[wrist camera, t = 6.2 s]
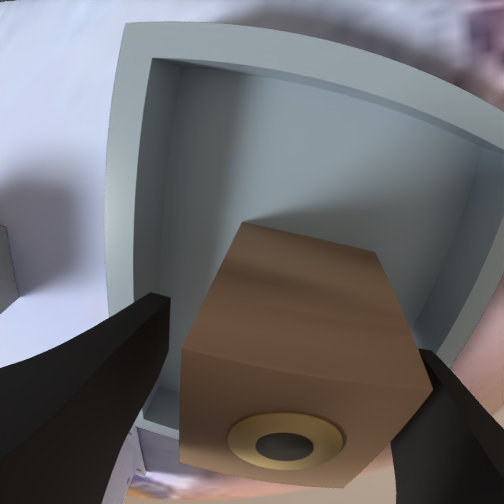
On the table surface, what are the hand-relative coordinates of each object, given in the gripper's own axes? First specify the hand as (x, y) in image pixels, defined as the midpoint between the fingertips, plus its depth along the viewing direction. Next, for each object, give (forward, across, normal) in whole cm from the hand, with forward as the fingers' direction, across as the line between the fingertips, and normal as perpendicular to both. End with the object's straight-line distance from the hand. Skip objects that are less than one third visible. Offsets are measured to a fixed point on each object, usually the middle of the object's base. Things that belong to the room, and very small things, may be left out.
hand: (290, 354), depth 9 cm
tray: (+4, 0, 0) cm, 4 cm away
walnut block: (+3, 0, 0) cm, 3 cm away
